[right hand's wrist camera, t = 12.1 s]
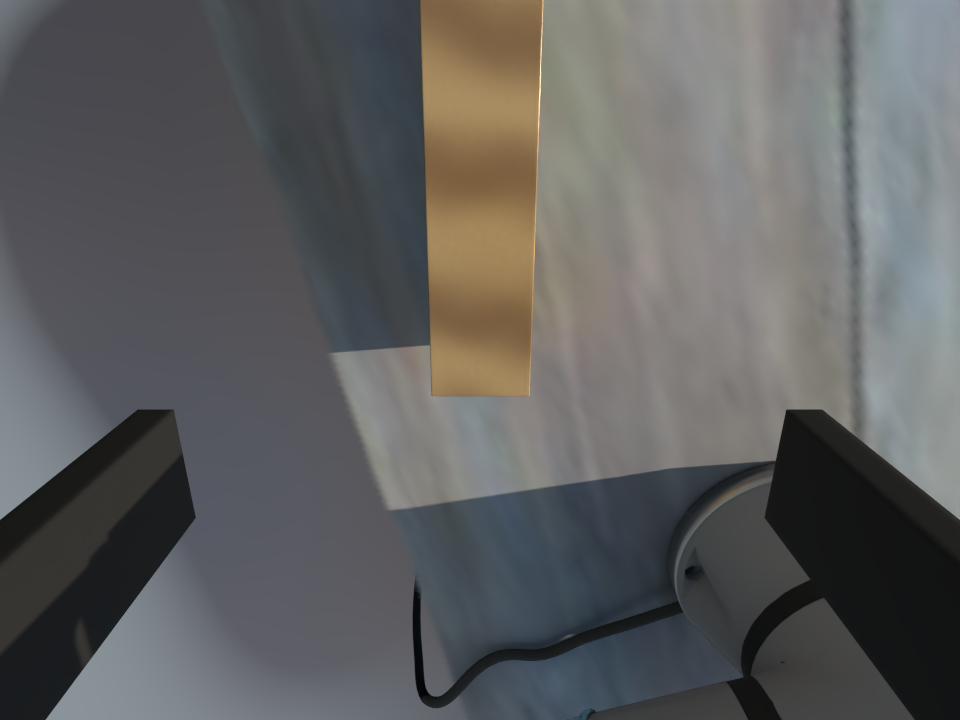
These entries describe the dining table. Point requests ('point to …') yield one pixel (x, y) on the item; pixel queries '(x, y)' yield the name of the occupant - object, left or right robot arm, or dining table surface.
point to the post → (481, 190)
